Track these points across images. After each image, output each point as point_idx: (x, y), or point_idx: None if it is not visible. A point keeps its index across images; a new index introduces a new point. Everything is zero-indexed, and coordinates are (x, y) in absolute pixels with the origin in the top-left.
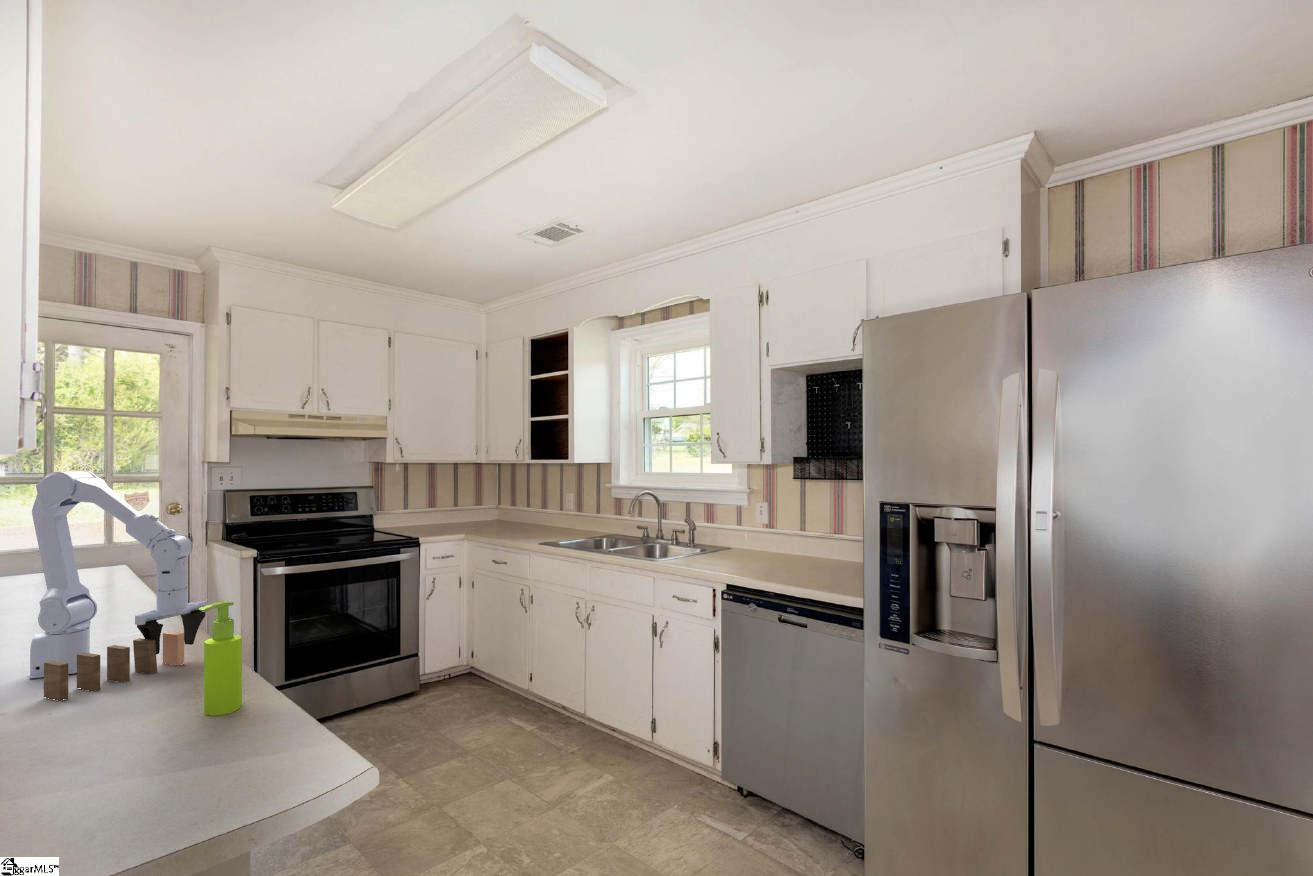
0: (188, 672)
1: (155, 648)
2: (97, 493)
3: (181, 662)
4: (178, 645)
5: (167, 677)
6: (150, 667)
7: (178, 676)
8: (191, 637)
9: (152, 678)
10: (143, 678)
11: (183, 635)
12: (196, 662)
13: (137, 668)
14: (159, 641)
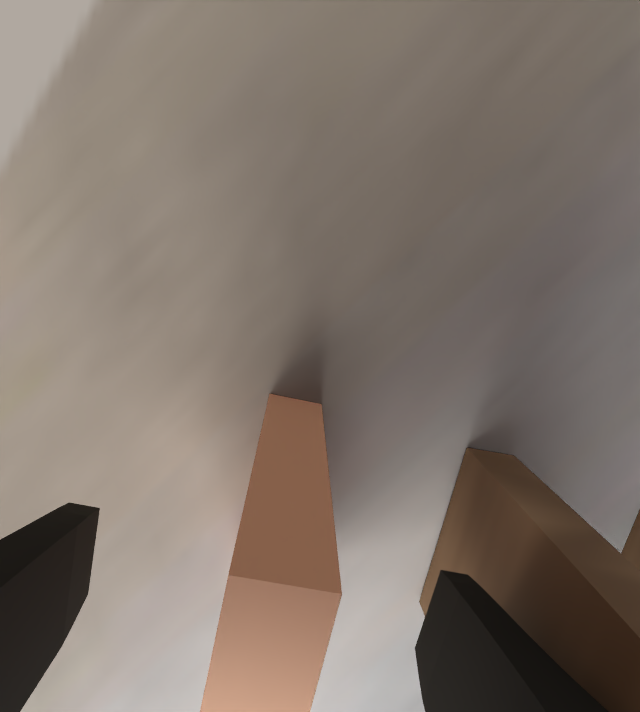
0: (466, 168)
1: (591, 582)
2: None
3: (291, 405)
4: (319, 494)
5: (594, 249)
6: (538, 482)
7: (571, 170)
8: (51, 558)
9: (613, 354)
10: (610, 423)
11: (245, 553)
12: (206, 330)
13: None
14: (519, 669)
